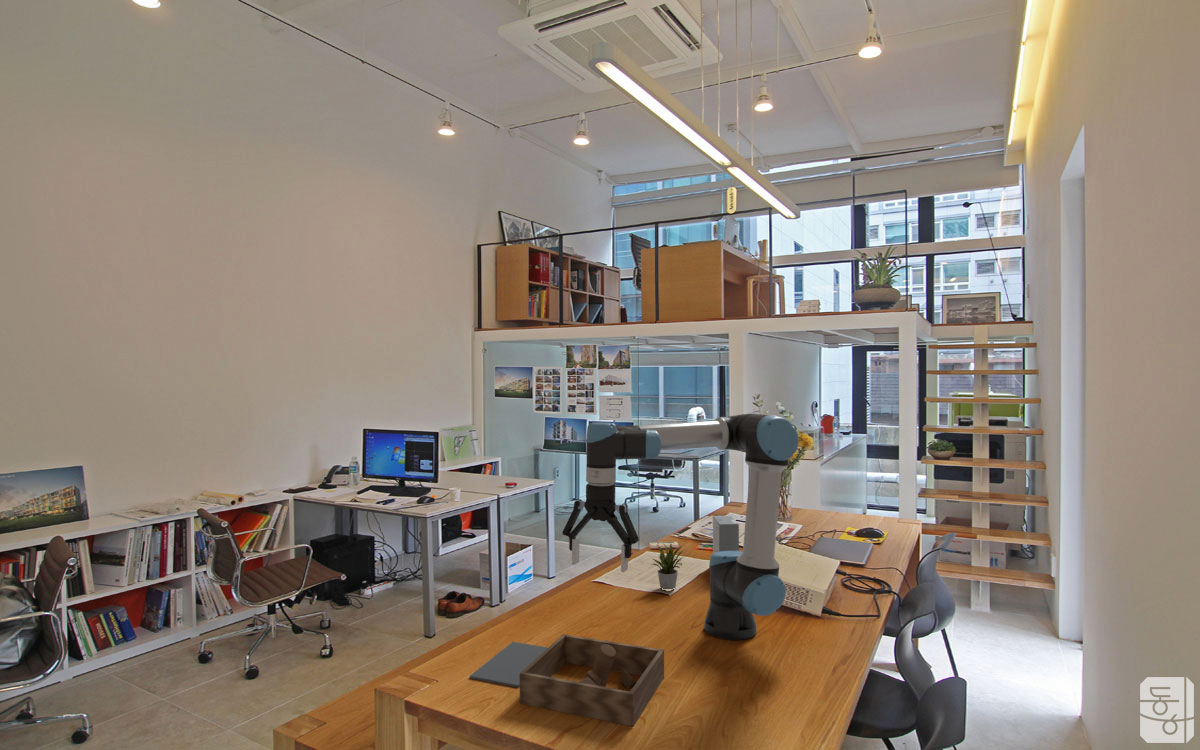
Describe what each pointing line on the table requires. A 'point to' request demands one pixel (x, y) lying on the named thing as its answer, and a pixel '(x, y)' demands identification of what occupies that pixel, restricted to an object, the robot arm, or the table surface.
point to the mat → (508, 664)
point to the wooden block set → (605, 669)
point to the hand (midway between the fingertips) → (599, 567)
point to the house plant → (668, 567)
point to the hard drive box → (725, 534)
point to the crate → (587, 697)
